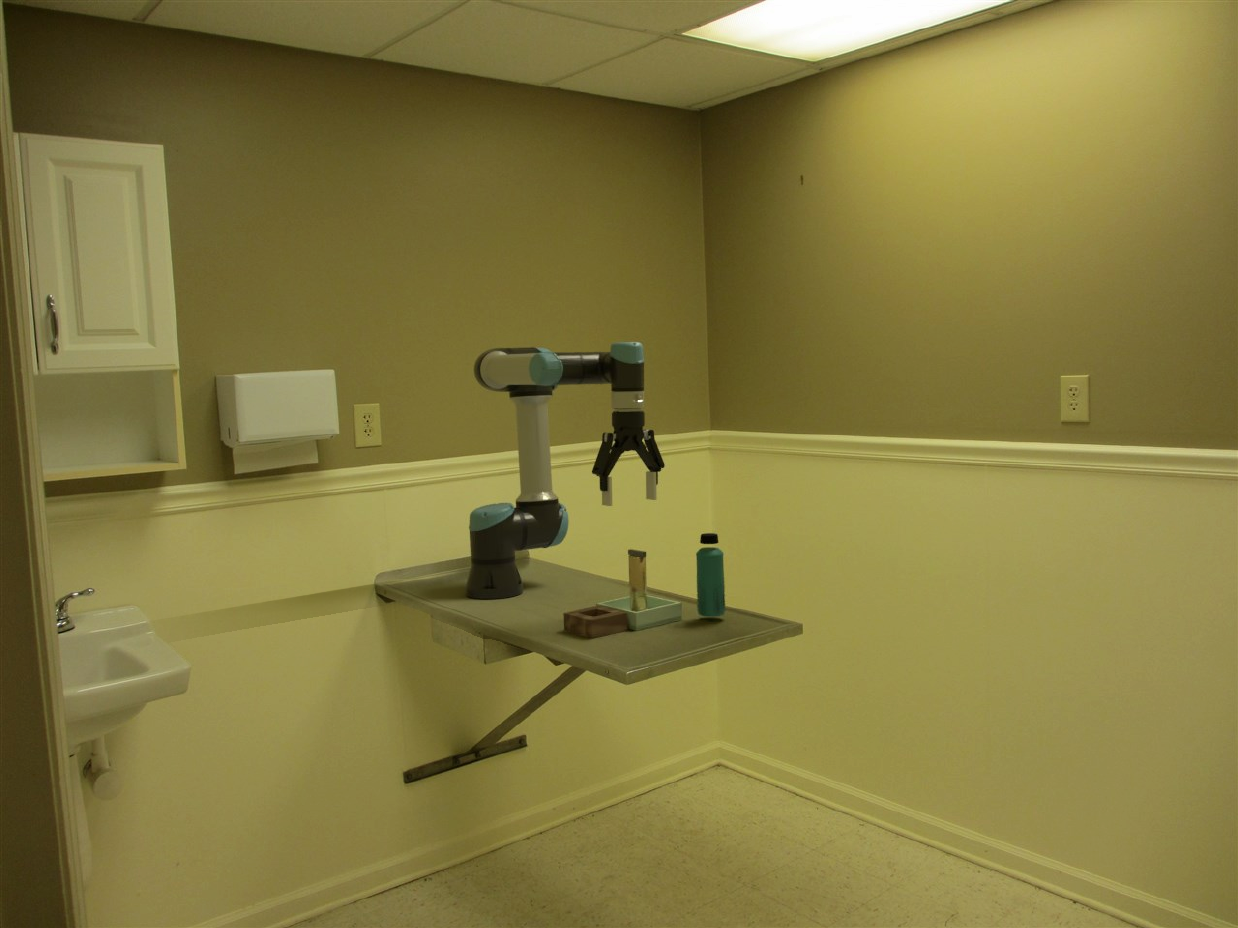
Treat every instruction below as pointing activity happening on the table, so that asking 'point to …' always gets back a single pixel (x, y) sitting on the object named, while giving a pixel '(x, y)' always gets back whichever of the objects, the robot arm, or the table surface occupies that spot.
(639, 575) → the amber rounded cylinder
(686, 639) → the table surface
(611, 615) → the block
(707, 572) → the beverage bottle
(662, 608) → the tray
